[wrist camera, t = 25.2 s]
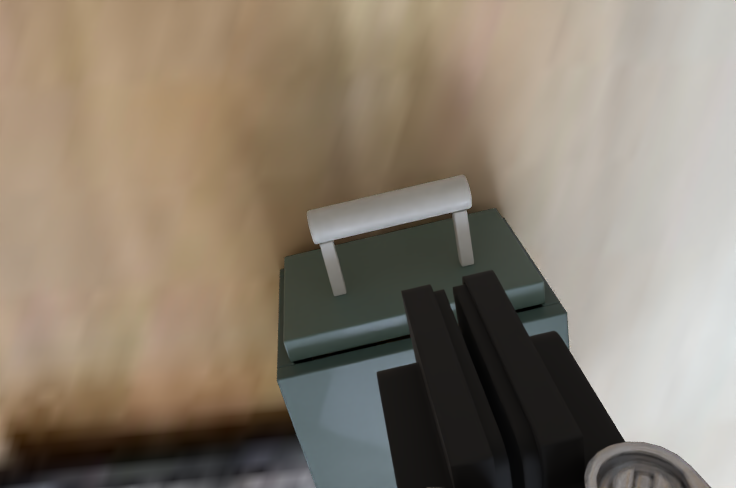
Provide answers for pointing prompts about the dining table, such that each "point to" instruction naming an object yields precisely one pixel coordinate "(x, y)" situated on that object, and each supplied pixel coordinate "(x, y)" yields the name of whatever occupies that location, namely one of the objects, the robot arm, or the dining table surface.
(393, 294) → the drawer
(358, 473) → the cabinet
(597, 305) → the dining table surface
